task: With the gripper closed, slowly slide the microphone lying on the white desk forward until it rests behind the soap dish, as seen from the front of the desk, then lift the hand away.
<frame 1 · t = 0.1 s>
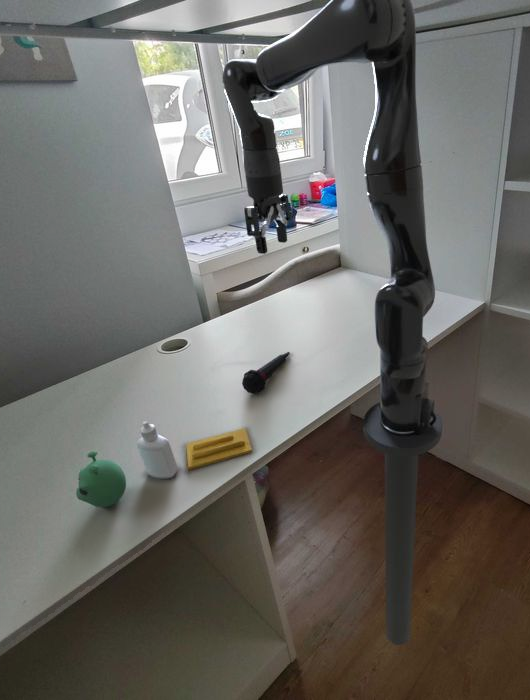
hand: (273, 247, 101), 30 cm above the table, tool pointing down, fingers open, 8 cm apart
eye dropper bottle: (163, 472, 83), on the table
microphone: (272, 376, 109), on the table
soap dish: (219, 449, 88), on the table
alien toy: (109, 501, 78), on the table
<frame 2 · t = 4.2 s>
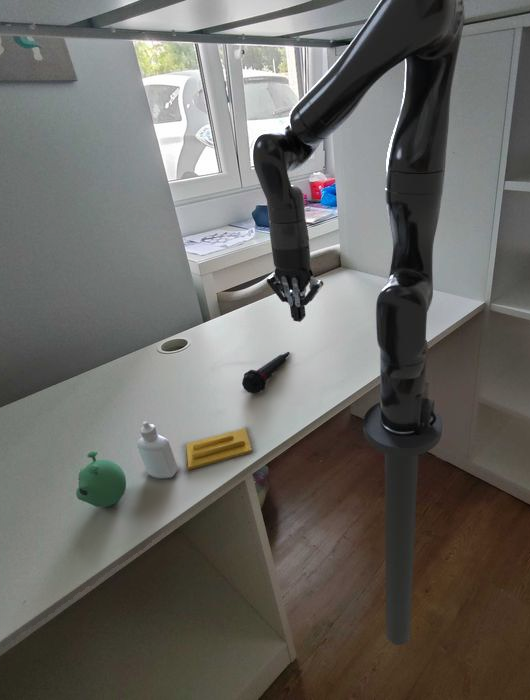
hand: (299, 319, 97), 17 cm above the table, tool pointing down, fingers closed
nothing on the table moved.
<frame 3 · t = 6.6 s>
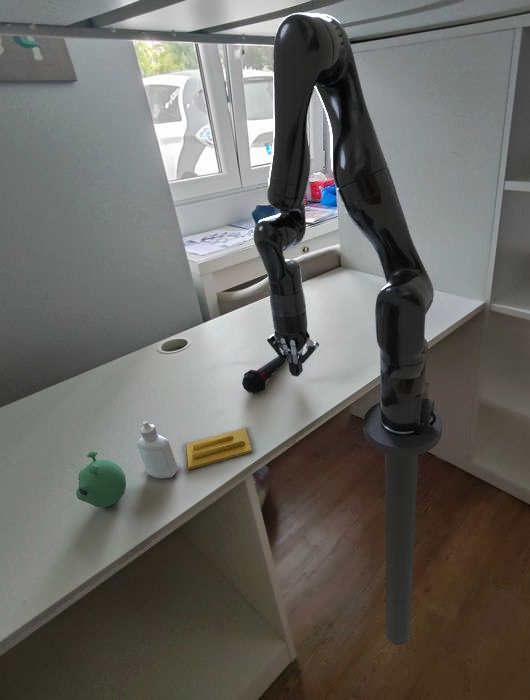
hand: (296, 374, 105), 2 cm above the table, tool pointing down, fingers closed
nothing on the table moved.
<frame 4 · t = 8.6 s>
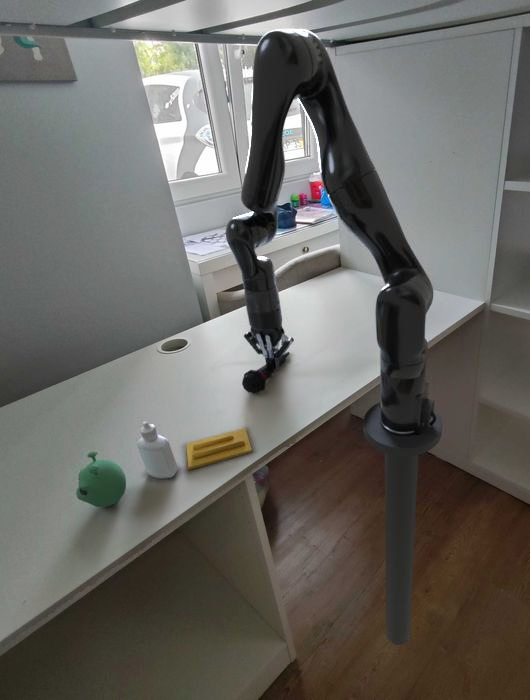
hand: (273, 369, 108), 2 cm above the table, tool pointing down, fingers closed
microphone: (272, 376, 109), on the table, touching gripper
everything else where it was.
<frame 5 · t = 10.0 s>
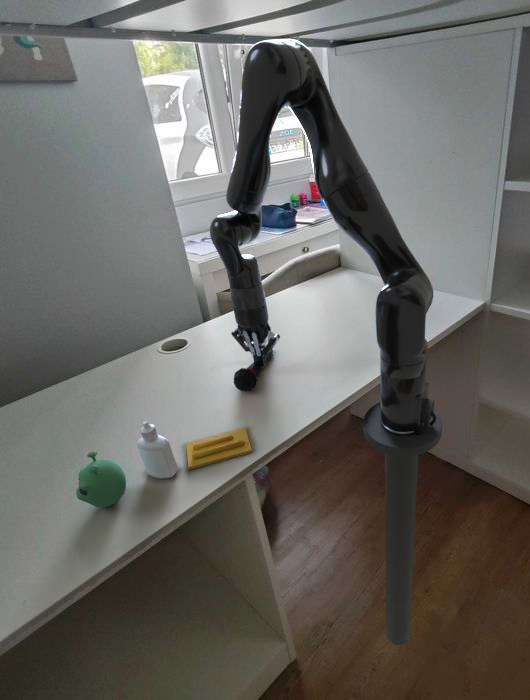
hand: (261, 366, 109), 2 cm above the table, tool pointing down, fingers closed
microphone: (260, 374, 111), on the table, touching gripper
everything else where it was.
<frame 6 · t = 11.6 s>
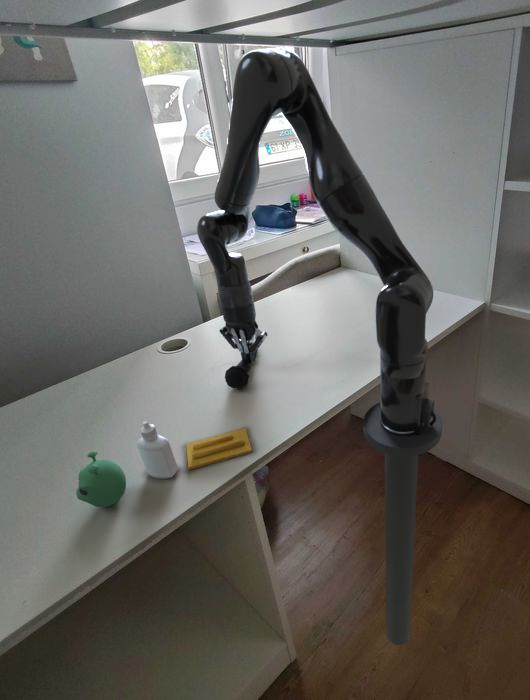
hand: (249, 363, 110), 2 cm above the table, tool pointing down, fingers closed
microphone: (249, 371, 112), on the table, touching gripper
everything else where it was.
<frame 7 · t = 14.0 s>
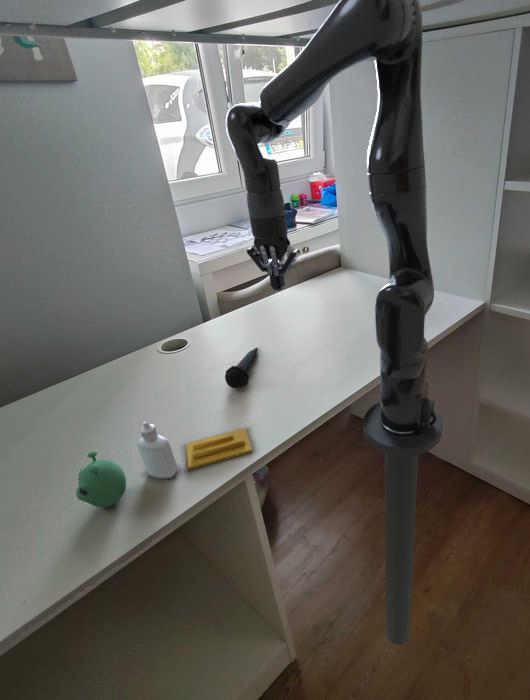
hand: (278, 289, 101), 21 cm above the table, tool pointing down, fingers closed
microphone: (249, 371, 112), on the table
everything else where it was.
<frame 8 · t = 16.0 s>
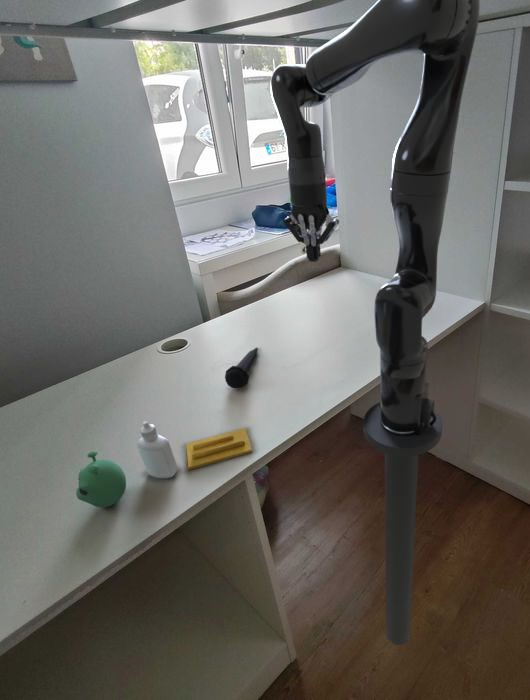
hand: (314, 260, 100), 27 cm above the table, tool pointing down, fingers closed
nothing on the table moved.
at the end: microphone inside the target area on the table beside the soap dish (6.6 cm from its centre), on the table; microphone moved 6.9 cm from its start; the gripper is holding nothing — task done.
